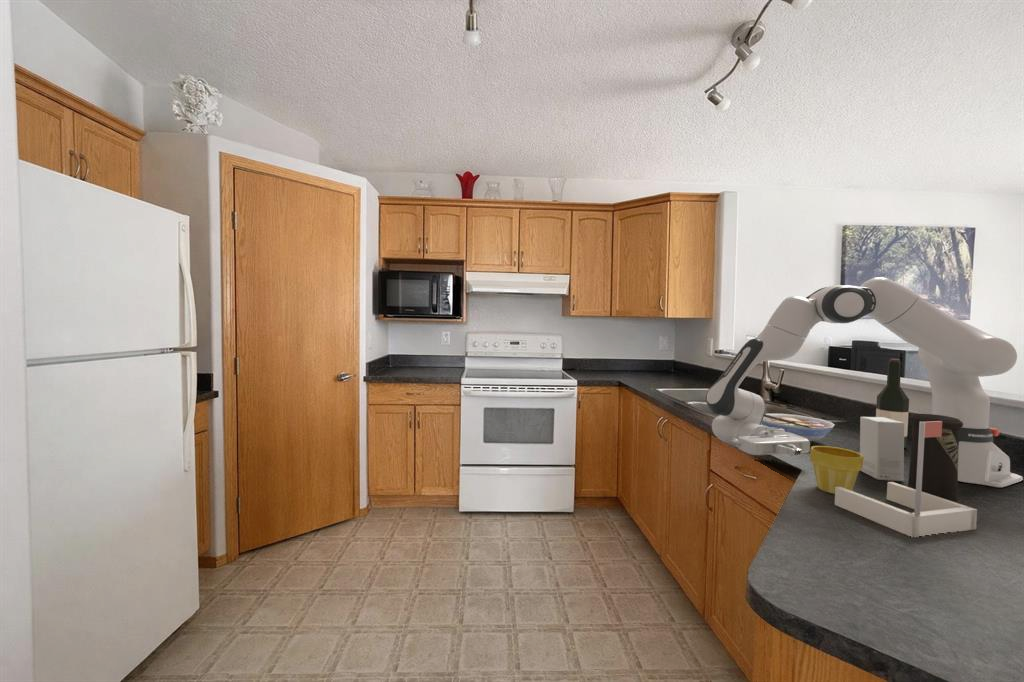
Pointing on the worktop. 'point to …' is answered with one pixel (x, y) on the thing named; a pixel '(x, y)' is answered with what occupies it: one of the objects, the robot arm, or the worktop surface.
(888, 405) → the wine bottle
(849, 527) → the worktop surface
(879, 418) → the skincare box
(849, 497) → the white frame with flag
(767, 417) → the ramen bowl
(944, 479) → the container
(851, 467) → the plant pot
